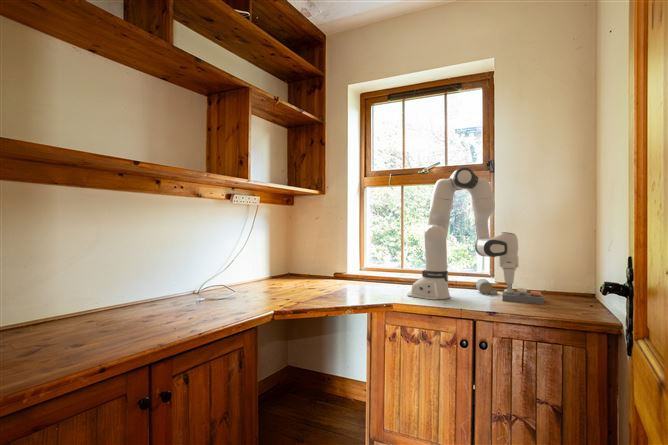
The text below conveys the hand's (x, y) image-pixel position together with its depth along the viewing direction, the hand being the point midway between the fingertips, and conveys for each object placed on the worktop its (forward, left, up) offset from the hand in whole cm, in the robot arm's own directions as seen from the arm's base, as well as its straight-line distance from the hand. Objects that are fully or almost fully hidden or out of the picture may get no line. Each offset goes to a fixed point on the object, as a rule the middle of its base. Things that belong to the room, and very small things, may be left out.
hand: (509, 289), depth 177 cm
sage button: (0, 0, -4) cm, 4 cm away
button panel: (+6, 0, -5) cm, 8 cm away
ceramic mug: (-11, +12, -5) cm, 18 cm away
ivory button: (+6, 0, -3) cm, 7 cm away
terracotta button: (+12, 0, -4) cm, 13 cm away
